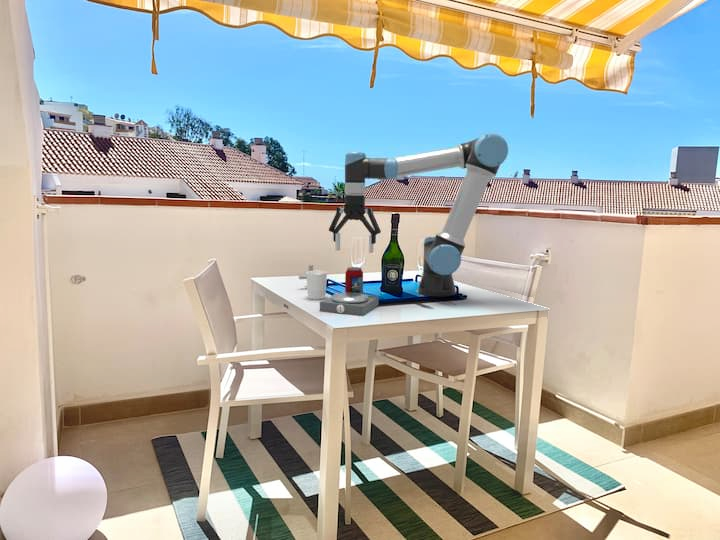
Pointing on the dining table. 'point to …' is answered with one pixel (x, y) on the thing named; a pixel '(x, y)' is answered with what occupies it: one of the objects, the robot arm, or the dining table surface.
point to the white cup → (316, 284)
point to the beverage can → (354, 280)
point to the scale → (349, 306)
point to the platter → (349, 298)
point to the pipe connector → (305, 274)
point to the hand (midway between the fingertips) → (354, 251)
